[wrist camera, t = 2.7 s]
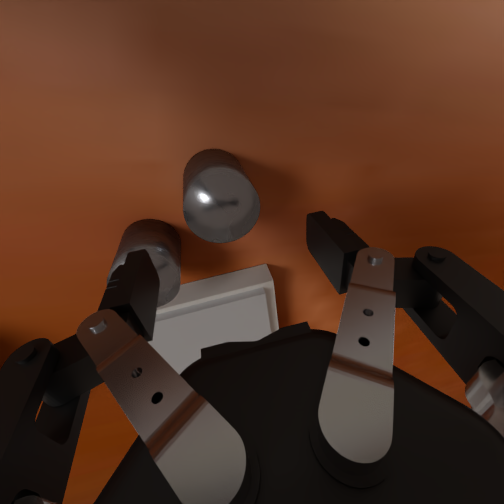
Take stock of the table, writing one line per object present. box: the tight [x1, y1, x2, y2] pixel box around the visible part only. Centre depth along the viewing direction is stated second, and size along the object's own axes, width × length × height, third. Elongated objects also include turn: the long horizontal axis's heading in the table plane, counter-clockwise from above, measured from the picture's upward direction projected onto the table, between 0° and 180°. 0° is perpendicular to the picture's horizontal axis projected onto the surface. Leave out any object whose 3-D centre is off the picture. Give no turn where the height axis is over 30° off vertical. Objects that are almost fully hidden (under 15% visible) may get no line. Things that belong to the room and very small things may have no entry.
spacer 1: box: [107, 219, 181, 307], centre depth 18 cm, size 4×4×5 cm
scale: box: [148, 264, 279, 375], centre depth 26 cm, size 17×13×7 cm
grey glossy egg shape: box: [183, 149, 260, 243], centre depth 16 cm, size 4×4×5 cm
